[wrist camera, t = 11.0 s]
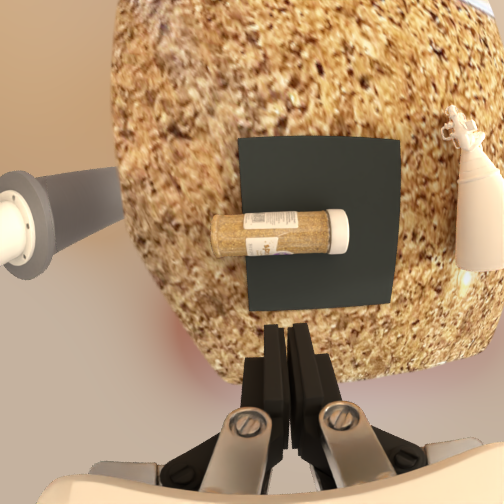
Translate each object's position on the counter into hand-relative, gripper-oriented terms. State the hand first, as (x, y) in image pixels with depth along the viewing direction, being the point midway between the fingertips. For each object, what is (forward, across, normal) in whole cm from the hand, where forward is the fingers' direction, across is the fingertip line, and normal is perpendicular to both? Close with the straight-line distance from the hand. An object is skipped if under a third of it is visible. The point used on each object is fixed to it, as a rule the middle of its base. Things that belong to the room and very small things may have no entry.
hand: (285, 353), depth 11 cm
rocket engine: (+21, -27, -6) cm, 34 cm away
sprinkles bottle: (+19, +6, 0) cm, 20 cm away
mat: (+21, -6, 0) cm, 22 cm away
